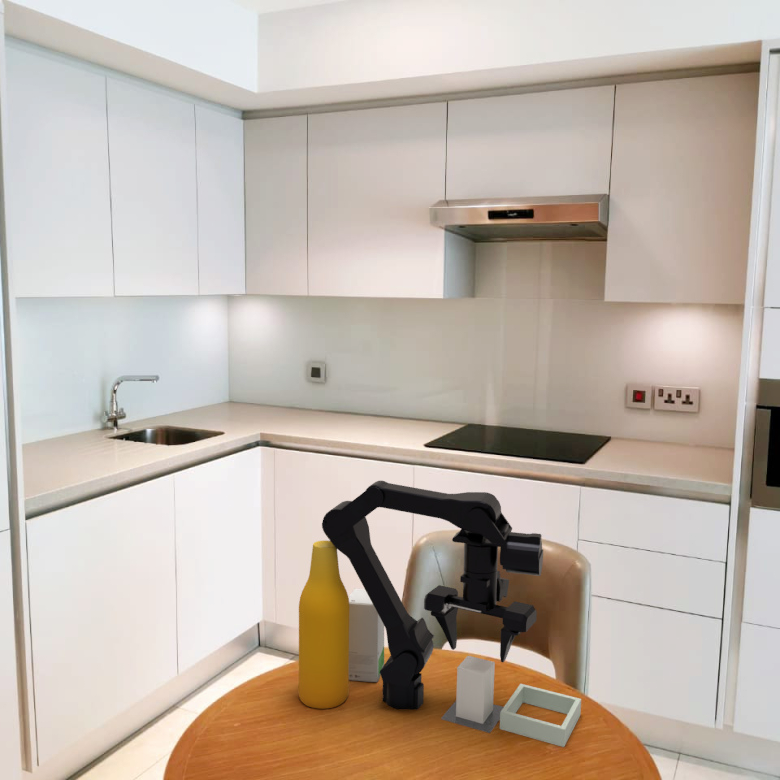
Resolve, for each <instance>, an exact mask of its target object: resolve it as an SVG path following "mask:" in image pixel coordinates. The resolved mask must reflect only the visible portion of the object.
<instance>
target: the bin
mask: <svg viewBox="0 0 780 780" xmlns="http://www.w3.org/2000/svg"><path fill="white" fill-rule="evenodd" d="M522 704H527V705H530V706H534V707H537V708H542V709H546V710H549V711H554V712H558V713H561V714H564V715H566V717H565V718H564V720H563V721H562V724H561V725H559V724H555V723H553V722H548V721H544V720H541V719H536V718H534V717H530V716H527V715H522V714H518V713H517V712H518V711H519V709H520V707H522ZM503 707H504V708H503V709H502V710H501V712H500V720H499V730H502V731H506V732H509V733H512V734H516V735H520V736H524V737H527V738H530V739H534V740H537V741H541V742H545V743H548V744H552V745H554V746H555V745H556V746H558V747H562V748H565V746H566V744H567V743H568V741H569V738H570V737H571V735H572V732H573V731H574V728H575V726H576V725H577V723H578V720H579V719H580V717H581V712H582V711H581V709H582V698H579V697H576V696H571V695H568V694H563V693H559V692H556V691H552V690H547V689H544V688H539V687H535V686H531V685H528V684H524V683H519V685H518V686H517V688H516V689H515V691H514V692H513V693H512V695H511V696H510V698H509V699H508V701H507V702H506V703H505V705H504V706H503Z"/></svg>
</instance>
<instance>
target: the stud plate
mask: <svg viewBox="0 0 780 780" xmlns="http://www.w3.org/2000/svg"><path fill="white" fill-rule="evenodd" d="M503 708H504V706H503V705H502V706H501V705H497V704H495V703H493V711H492V712H491V714H490V715H489V716H488V718H487V719H486V721H485V722H484V723H483V724H481V723H478V722H474V721H471V720H467V719H464V718H460V717H457V716H456V700H455V701H454V702H453V703H452V704H451V705H450V707H449V708H448V709H447V710H446V712H445V713H444V714H443V715H442V716H441V718H440V720H443V721H447V722H450V723H452V724H457V725H460V726H463V727H466V728H470V729H473V730H474V729H475V730H477V731H480V732H483V733H484V732H485V733H488V734H491V732H493V730H494V728H495V727H496V725H497V724H498V722H500V712H501V710H502V709H503Z"/></svg>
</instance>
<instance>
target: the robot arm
mask: <svg viewBox="0 0 780 780" xmlns="http://www.w3.org/2000/svg"><path fill="white" fill-rule="evenodd" d="M378 508H384V509H389V510H394V511H399V512H405V513H410V514H415V515H420V516H424V517H425V516H426V517H429V518H436V519H441V520H443V521H446V522H449V523H450V524H451V525H454V526H455V527H457V528H459V529H460V530H459V531H458V532H456V533H455V535H454V536H453V537H452V539H451V541H452V542H453V543H458V544H459V543H461V544H463V574H462V575H460V578H459V579H460V580H459V581H460V583H462V585H463V586H462V587H463V588H462V596H459V591H458V590H457V588H455V587H454V588H453V587H448V586H446V585H445V586H444V585H442V584H441V585H440V584H438V586H436V587H434V588H433V589H432V590H430V591H429V592H427V594H425V596H424V601H423V609H424V610H425V611H428V612H430V616H432V617H434V618H435V619H436V621H437V622H438V624H439V626H440V628H441V630H442V632H443V633H444V635H445V638H446V640H447V643H448V644H449V647H450V649H451V650H452V651H454V650H455V649H457V642H458V633H457V632H458V631H457V629H458V628H457V626H458V624H457V615H458V611H459V609H460V610H464V611H465V610H466V611H469V612H472V613H477V614H481V615H487V616H491V617H494V618H500V619H502V625H503V627H502V628H501V629H500V643H499V644H500V646H499V651H500V652H499V654H500V655H499V656H500V662H501V663H504V662H505V661H506V659H507V657H508V654H509V652H510V650H511V647H512V645H513V641H514V640H515V637H516V636H519V635H520V634H521V633H527V632H528V630H529V629H530V628H532V626H533V625H534V624H535V623H536V622H537V615H538V614H537V609H536V608H535V606H534V605H532V604H528V603H524V602H519V601H513V602H512V603H511V604H510V605H509V606H503V605H498V604H497V602H501V601H503V598H508V597H507V596H508V591H509V585H510V579H509V578H508V579H507V578H504V577H503V578H502V577H501V573H500V571H499V570H498V558H499V566H502V569H503V570H505V572H506V573H512V574H519V575H520V574H521V575H530V576H535V577H536V576H539V577H540V576H541V575H542V569H543V563H544V549H543V541H542V534H541V533H536V532H534V533H533V532H532V533H523V532H514V531H513V532H512V530H513V527H512V526H511V524H510V522H509V521H508V519H507V518H506V517H505V515H504V514H503V512H502V506H501V504H500V501H499V500H498V499H497V497H496V496H495V495H494V494H493V493H490V492H480V491H478V492H477V491H475V492H473V491H471V492H470V491H468V492H467V491H466V492H460V493H446V492H440V491H436V490H435V491H433V490H430V489H429V490H428V489H424V488H417V487H413V486H406V485H401V484H397V483H396V484H395V483H389V482H387V481H384V480H377V481H375V482H373V483H372V484H370V485H369V486H368V487H367V488H366V489H365V491H364V492H362V493H361V494H360V495H358V496H357V497H356V498H355V499H353V500H344V501H341V502H339V503H338V504H337V505H336V506H334V507H333V508H332V509H330V510H329V511H328V512H326V513H325V515H324V516H323V519H322V523H321V528H322V531H323V533H324V534H325V536H326V537H327V539H328V541H331V543H332V544H333V545H334V547H335V548H337V551H339V552H340V553H342V554H343V555H344V556H346V557H347V559H348V560H349V561H350V564H351V565H352V567H353V569H354V571H355V573H356V575H357V577H358V579H359V580H360V582H361V584H362V586H363V589H365V590H366V592H367V594H368V596H369V598H370V600H371V601H372V603H373V605H374V607H375V609H376V611H377V613H378V615H379V617H380V618H381V620H382V622H383V624H384V629H385V633H386V640H387V647H388V650H389V654H390V656H389V658H388V659H387V660H386V662H384V666H383V667H382V669H381V670H380V674H381V675H380V677H381V680H382V702H384V703H386V705H388V707H390V708H392V709H395V710H402V711H404V710H412V711H413V710H416V711H417V710H419V709H420V708H421V707H422V705H423V704H424V696H425V695H424V691H425V690H424V689H425V687H424V686H425V684H424V682H422V677H423V676H422V673H421V672H422V670H423V669H424V668H425V666H426V665H427V663H428V660H430V658H431V656H432V654H433V651H434V647H435V646H434V641H433V638H434V636H435V635H434V634H433V633H432V632H431V631H430V630H429V628H428V626H427V623H426V620H425V619H424V617H420V618H419V619H418V620H416V619H415V618H414V617H412V616H411V615H410V614H409V613H408V611H407V609H406V607H405V605H404V604H403V602H402V600H401V598H400V596H399V594H398V593H397V590H396V588H395V586H394V585H393V583H392V581H391V580H390V577H389V575H388V573H387V571H386V570H385V568H384V566H383V564H382V562H381V560H380V558H379V556H378V555H377V553H376V551H375V549H374V547H373V545H372V542H371V533H370V527H369V524H368V523H369V522H368V520H367V516H368V515H370V514H371V513H372V512H374V511H375V510H376V509H378ZM499 549H500V550H499ZM498 552H499V553H498Z"/></svg>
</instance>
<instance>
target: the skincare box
mask: <svg viewBox="0 0 780 780" xmlns="http://www.w3.org/2000/svg"><path fill="white" fill-rule="evenodd" d="M348 598H349V607H350V610H349V681H355V682H356V681H357V682H367V683H378V682H379V680H380V677H381V674H380V670H381V669H382V667H383V666H384V664H385V626H384V624H383V622H382V620H381V618H380V617H379V615H378V613H377V611H376V609H375V607H374V605H373V603H372V601H371V600H370V598H369V596H368V594H367V592H366V590H365V588H355V587H354V588H353V590H352V592H351V593H350V594H349V595H348Z"/></svg>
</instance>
